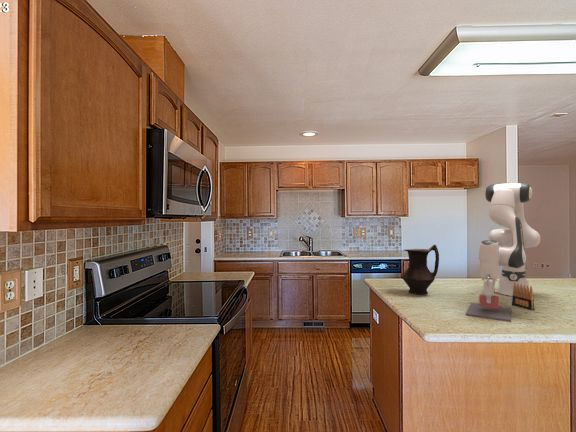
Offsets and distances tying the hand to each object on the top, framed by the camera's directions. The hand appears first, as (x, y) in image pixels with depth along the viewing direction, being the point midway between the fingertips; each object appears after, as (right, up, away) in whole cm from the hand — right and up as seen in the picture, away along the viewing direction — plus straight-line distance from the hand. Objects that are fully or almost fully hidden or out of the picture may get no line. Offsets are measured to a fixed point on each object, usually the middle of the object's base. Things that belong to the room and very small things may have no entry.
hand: (489, 301), depth 168 cm
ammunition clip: (+22, -5, +8) cm, 24 cm away
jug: (-19, -5, +38) cm, 43 cm away
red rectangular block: (0, -2, 0) cm, 2 cm away
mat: (0, -5, 0) cm, 5 cm away
